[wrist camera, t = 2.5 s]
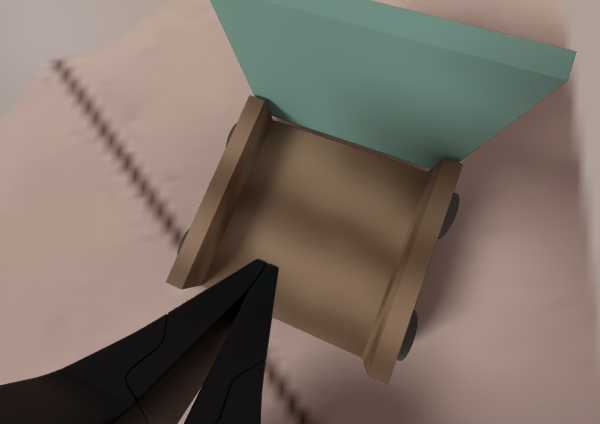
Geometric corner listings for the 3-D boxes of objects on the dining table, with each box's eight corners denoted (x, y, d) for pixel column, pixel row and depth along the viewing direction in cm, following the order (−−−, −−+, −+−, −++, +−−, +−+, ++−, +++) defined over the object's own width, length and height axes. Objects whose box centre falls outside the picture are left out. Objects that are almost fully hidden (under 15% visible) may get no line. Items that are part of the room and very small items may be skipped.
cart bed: (388, 360, 22) (408, 393, 16) (190, 271, 24) (150, 274, 19) (446, 191, 23) (482, 170, 18) (254, 125, 26) (234, 90, 20)
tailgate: (444, 173, 21) (567, 80, 10) (262, 112, 23) (202, -16, 12) (453, 146, 21) (583, 27, 10) (272, 88, 23) (223, -57, 13)
